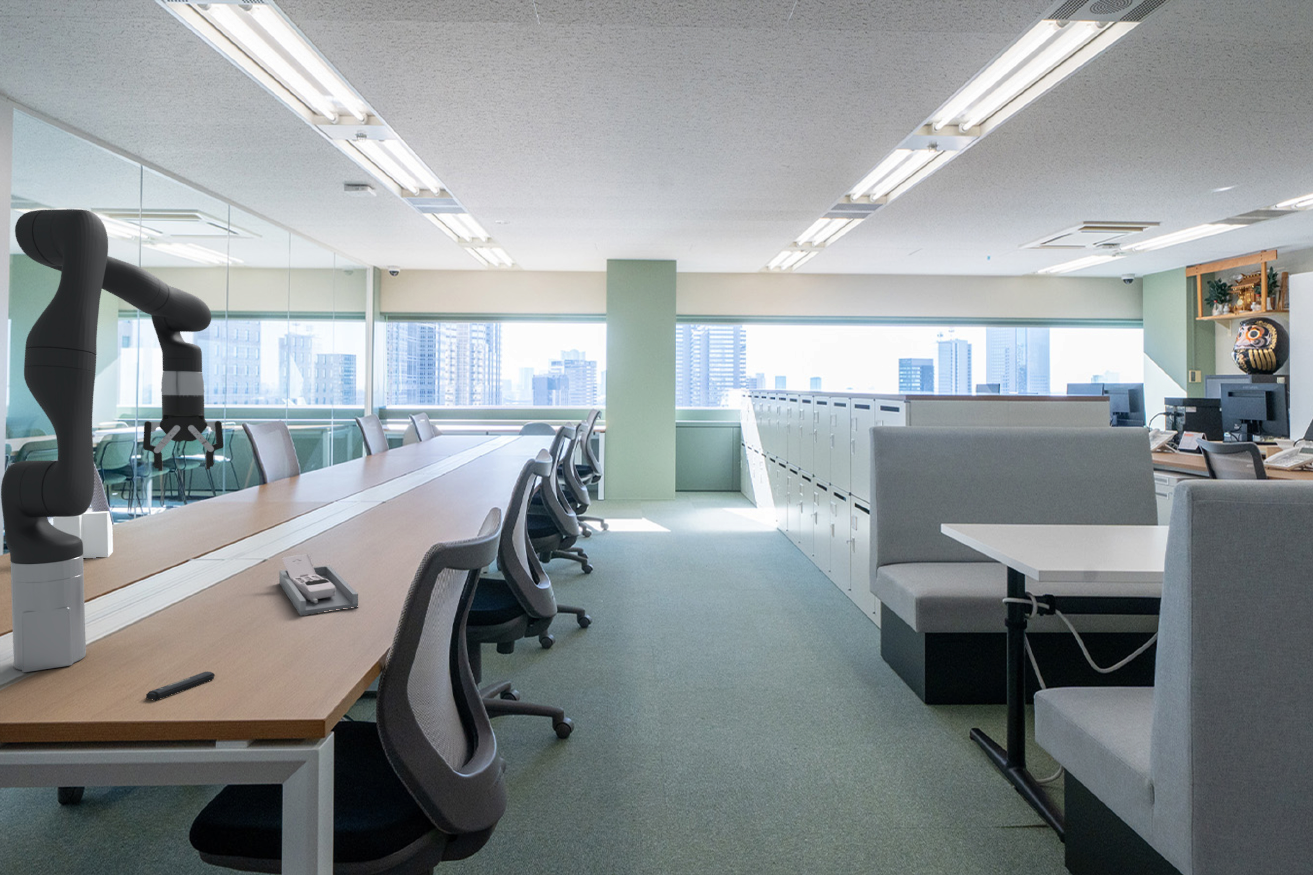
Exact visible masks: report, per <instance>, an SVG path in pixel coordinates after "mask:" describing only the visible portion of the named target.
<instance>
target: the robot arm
mask: <svg viewBox="0 0 1313 875" xmlns="http://www.w3.org/2000/svg"><path fill="white" fill-rule="evenodd" d="M14 234H15V235H14V236H15V239H16V242H17V245H18V246H19V248H20V250H22V252H23V253H24V254H25V256H27V257H28V258H30V259H32V261H34V262H37V263H38V264H41V265H43V266H45V267H48V268H50V269H54V270H57V271H59V272H61V273H60V280H59V284H58V287H57V290H56V292H55V294H54V297H53V298H52V299H51V300H50V302H49V304H48V305H47V306H46V307H45V309H44V310H43V311H42V313H41V314H40V316H39V317H38V318H37V319H36V321H35V322H34V324H33V326H32V327H31V329H30V331H29V332H28V334H27V337H26V341H25V347H24V348H25V350H24V351H25V352H24V362H23V363H24V364H23V366H24V367H23V376H24V377H23V378H24V381H25V384H26V387H27V388H28V390H29V392H30V393H31V395H32V397H33V399H34V400H35V401H36V403H37V404H38V405H39V407H40V408H41V410H42V411H43V412H44V414H45V415H46V417H47V418H48V420H49V422H50V423H51V425H52V427H53V430H54V434H55V437H56V445H57V460H21V461H17V462H14V463H12V464H11V465H9V466H8V468H7V469H6V470H5V472H4V475H3V477H2V481H1V486H0V498H1V510H2V517H3V520H2V521H3V528H4V541H5V545H6V547H7V549H8V552H9V555H10V556H9V557H10V559H9V561H10V577H11V578H10V584H11V585H10V587H11V589H10V590H11V594H10V595H11V619H12V620H11V622H12V644H13V645H12V648H13V649H12V650H13V668H14V669H16V670H19V671H22V673H27V672H35V671H42V670H47V669H48V670H49V669H55V668H61V667H62V668H63V667H68V666H73V664H74V663H76V662H79V661H80V660H83V659H84V658H85V657H86V656H87V652H86V651H87V643H86V641H87V640H86V639H87V638H86V616H85V615H86V613H85V612H86V610H85V608H86V606H85V577H84V576H85V575H84V570H85V569H84V559H83V542H82V540H81V539H80V538H79V537H77V536H74V535H71V534H68V533H65V532H63V531H60V530H58V529H57V528H55V527H54V526H53V525H52V524H51V523H50V521H49V519H48V518H53V517H73V516H79V515H82V514H83V513H85V512H88V510H89V508H90V506H91V504H92V501H93V498H94V491H95V464H94V463H95V460H94V443H93V410H94V409H93V408H94V391H95V383H96V382H95V381H96V373H97V372H96V370H97V354H98V353H97V340H98V339H97V338H98V324H99V314H100V311H99V310H100V302H101V295H102V289H103V290H104V291H106V292H108V293H109V294H111V295H114V296H116V297H117V298H119V299H121V300H122V301H124V302H126V303H128V304H129V305H131V306H133V307H134V308H136V309H137V310H139V311H141V312H143V313H145V314H148V315H151V321H152V324H153V327H154V330H155V333H156V336H157V340H158V342H159V346H160V349H161V353H162V354H161V355H162V356H161V357H162V377H161V389H160V390H161V391H160V392H161V421H150V420H146V421H145V422H144V424H143V442H142V445H143V446H142V448H143V450H144V451H149V452H151V453H152V454H153V466H154V469H157V471H158V472H163V454H162V451H163V449H164V448H165V447H166V446H167V445H168V443H170V442H171V441H173V442H175V443H176V442H179V443H180V442H184V441H185V442H195V441H196V440H197V441H198V442H199V443H200V444H201V445H202V446H203V448H205V449H206V451H205V469H206V470H211V467H212V468H213V467H214V466H215V462H214V461H215V457H214V456H215V454H214V453H215V452H216V451H217V450H220V449H223V448H224V438H223V437H224V435H223V434H224V433H223V423H222V422H221V421H220V420H215V421H206V419H205V384H204V377H203V376H204V375H203V352H202V349H201V347H200V346H199V345H197V344H193V343H190V342H186V341H185V340H184V339H183V336H182V332H183V333H188V332H189V333H195V332H201V331H205V330H206V329H207V328H208V327H209V325H211V321H212V313H211V310H210V308H209V305H207V303H205V301H204V300H202V299H201V298H199V297H198V296H196V295H194V294H191V293H189V292H187V291H184V290H181V289H179V288H176V287H174V286H171V285H168V284H167V283H166V282H164V281H163V280H161V279H160V278H159V277H157V276H155V275H154V274H153V273H152V272H150V271H148V270H146V269H144V268H142V267H139V266H137V265H134V264H132V263H129V262H126V261H123V260H121V259H117V258H115V257H112V256H109V237H108V233H107V229H106V227H105V224H104V222H103V221H102V219H101V218H100V217H99V216H98V215H97V214H96V213H94V212H93V211H90V210H87V209H78V208H77V209H74V208H73V209H72V208H69V209H67V208H66V209H63V208H62V209H61V208H60V209H38V210H33V211H31V210H30V211H27V212H25V213H23V214H22V215H21V216H19V218H18V219H17V221H16V223H15V227H14ZM207 427H209V428H210V430H211V432H214V434H215V436H214V437H215V443H214V444H211V443H210V442H209V441H208V440H207V439H206V437H204V436H203V434H202V433H203V432H204V431H205V430H206V429H207ZM157 428H160V429H161V430H162V431H163V432H164V433H165V435H164V436H163V438H161V440H160V441H159V442H158V443H157V444H156V445H153V444H151V443H152V442H151V441H152V433H154V432H156V431H157Z"/></svg>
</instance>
